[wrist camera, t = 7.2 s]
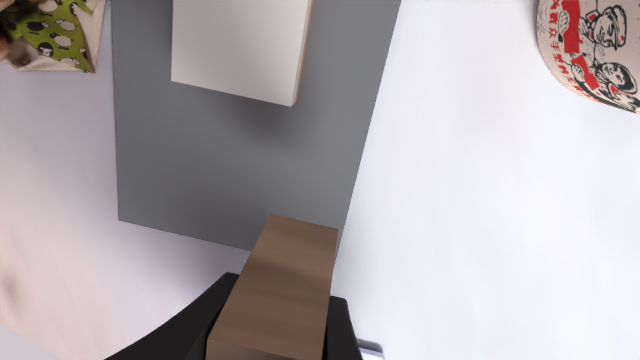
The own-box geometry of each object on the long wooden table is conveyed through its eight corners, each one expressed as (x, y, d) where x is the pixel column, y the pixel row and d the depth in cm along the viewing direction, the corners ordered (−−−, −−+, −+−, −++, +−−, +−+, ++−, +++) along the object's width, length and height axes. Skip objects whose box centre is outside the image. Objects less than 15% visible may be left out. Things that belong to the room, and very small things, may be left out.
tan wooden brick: (324, 283, 17) (301, 438, 10) (262, 269, 17) (200, 414, 11) (338, 229, 16) (320, 364, 9) (270, 213, 16) (207, 338, 9)
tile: (291, 106, 18) (313, -34, 15) (170, 80, 18) (174, -63, 15) (296, 100, 19) (318, -29, 17) (185, 76, 19) (191, -55, 17)
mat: (333, 265, 23) (333, 269, 23) (122, 217, 24) (118, 220, 23) (403, -13, 17) (404, -14, 17) (113, -73, 17) (108, -75, 17)
